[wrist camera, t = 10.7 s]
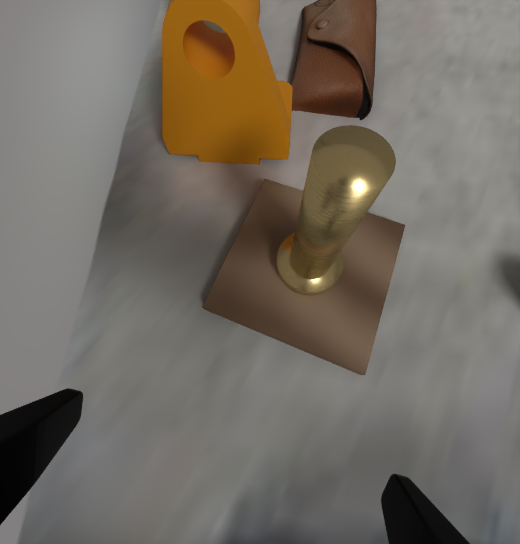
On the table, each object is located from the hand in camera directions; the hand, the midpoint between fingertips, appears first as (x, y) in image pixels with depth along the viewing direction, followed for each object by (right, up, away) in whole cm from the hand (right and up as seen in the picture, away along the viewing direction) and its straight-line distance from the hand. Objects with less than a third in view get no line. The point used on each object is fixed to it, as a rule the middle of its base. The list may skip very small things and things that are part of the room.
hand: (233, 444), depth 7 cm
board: (+4, +5, +14) cm, 15 cm away
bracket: (-2, +18, +19) cm, 26 cm away
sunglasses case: (+9, +28, +22) cm, 37 cm away
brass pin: (+4, +5, +13) cm, 14 cm away
